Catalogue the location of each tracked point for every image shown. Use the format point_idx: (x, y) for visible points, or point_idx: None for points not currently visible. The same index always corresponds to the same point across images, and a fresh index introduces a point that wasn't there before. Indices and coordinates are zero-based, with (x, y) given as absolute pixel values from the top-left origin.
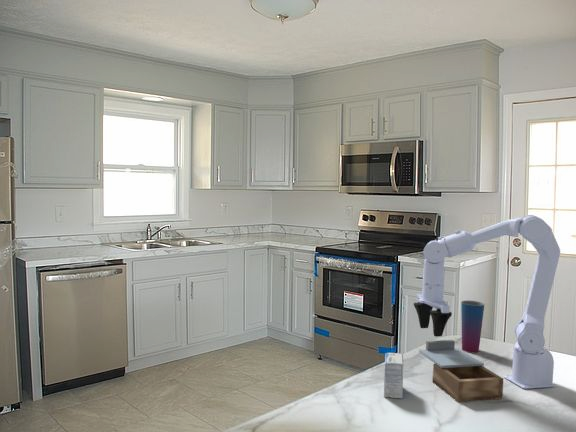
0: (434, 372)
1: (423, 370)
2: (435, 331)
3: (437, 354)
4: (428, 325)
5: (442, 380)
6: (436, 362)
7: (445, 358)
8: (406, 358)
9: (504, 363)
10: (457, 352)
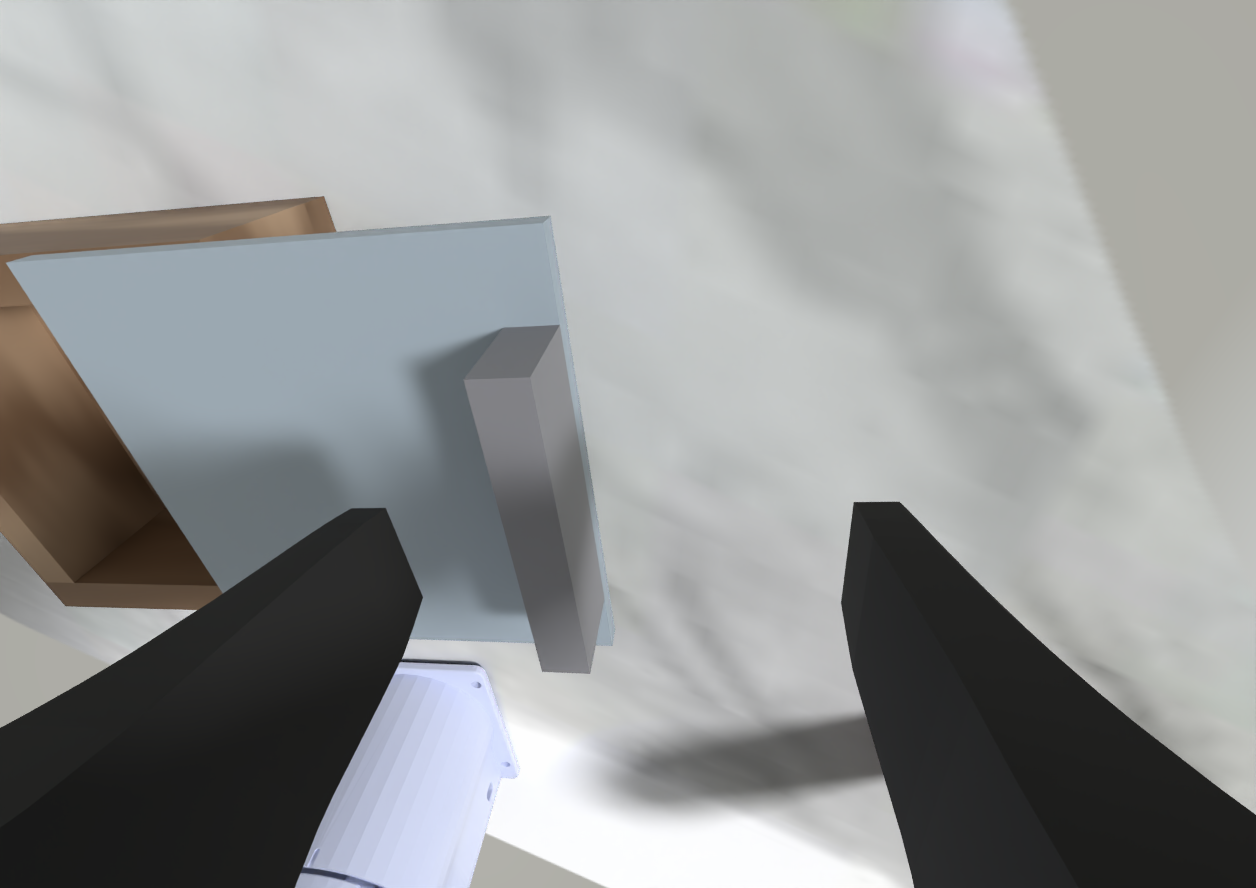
0: (238, 221)
1: (606, 235)
2: (278, 568)
3: (391, 385)
4: (851, 649)
5: (111, 226)
6: (109, 253)
7: (272, 409)
8: (971, 192)
9: (693, 757)
10: (484, 587)
